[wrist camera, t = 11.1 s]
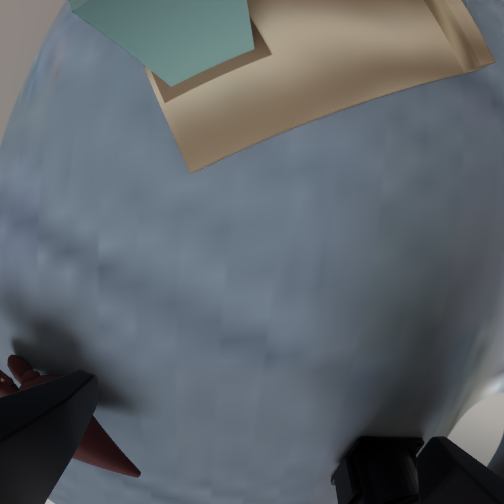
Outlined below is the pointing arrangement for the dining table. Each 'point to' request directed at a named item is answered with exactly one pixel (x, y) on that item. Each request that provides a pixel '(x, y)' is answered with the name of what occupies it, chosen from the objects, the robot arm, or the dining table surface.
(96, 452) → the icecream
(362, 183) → the dining table surface
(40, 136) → the dining table surface
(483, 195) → the dining table surface
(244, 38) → the block
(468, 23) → the tan tray
